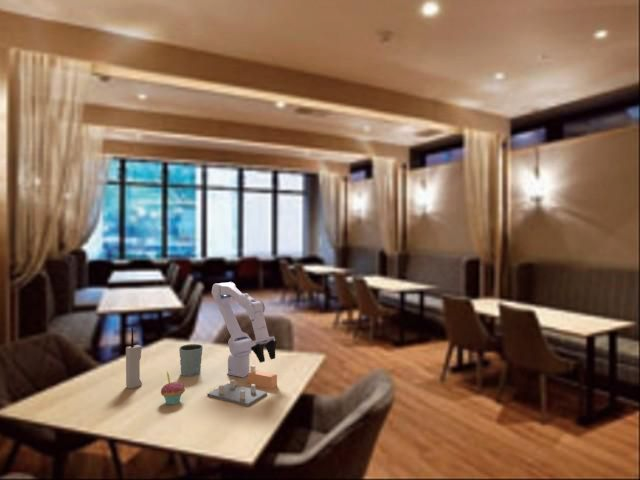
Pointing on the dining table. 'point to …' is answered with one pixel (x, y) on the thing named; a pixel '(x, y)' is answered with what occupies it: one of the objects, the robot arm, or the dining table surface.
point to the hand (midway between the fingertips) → (267, 360)
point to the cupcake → (172, 391)
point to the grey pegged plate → (237, 394)
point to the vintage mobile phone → (133, 365)
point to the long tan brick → (262, 378)
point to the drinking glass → (190, 359)
